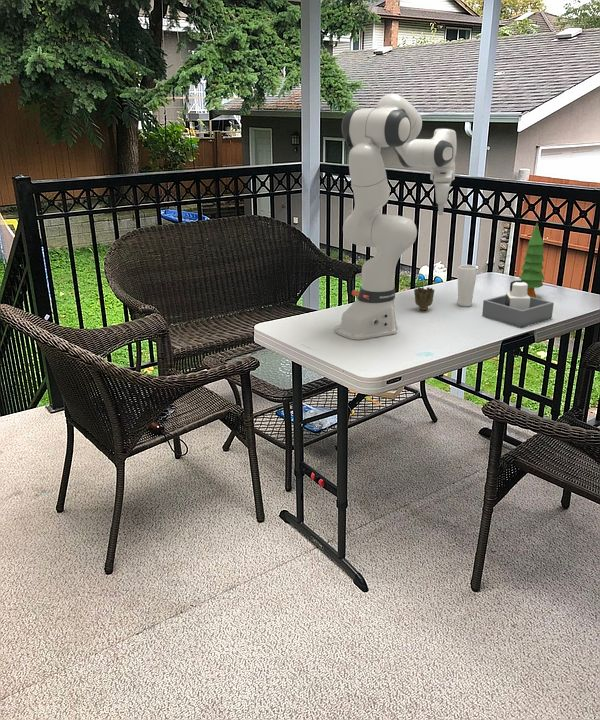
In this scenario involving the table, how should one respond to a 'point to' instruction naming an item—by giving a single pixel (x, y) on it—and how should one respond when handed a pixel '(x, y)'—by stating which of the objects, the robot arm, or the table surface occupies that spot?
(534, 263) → the decorative tree
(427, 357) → the table surface
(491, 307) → the bin
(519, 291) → the medicine bottle
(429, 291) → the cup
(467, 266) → the drinking glass
